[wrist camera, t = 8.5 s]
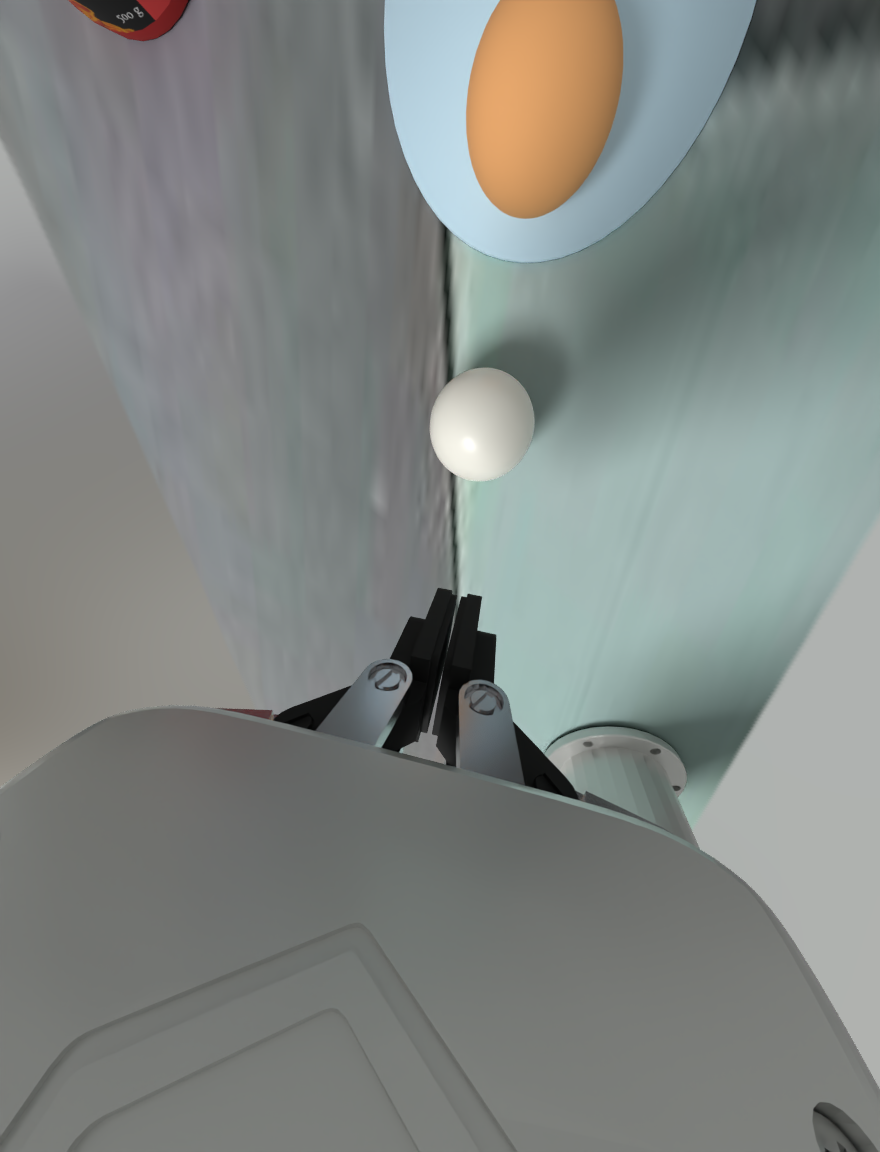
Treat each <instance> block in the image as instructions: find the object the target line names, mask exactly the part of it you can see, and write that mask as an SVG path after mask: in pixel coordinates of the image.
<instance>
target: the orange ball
mask: <svg viewBox="0 0 880 1152" xmlns="http://www.w3.org/2000/svg"><path fill="white" fill-rule="evenodd" d="M622 75H623V36H622V27H621V22H620V17H619V13H618V9H617V5H616V2H615V0H500V1H499V3H498V4H497V6H496V7H495V9H494V11H493V12H492V14H491V16H490V18H489V20H488V22H487V24H486V26H485V29H484V32H483V34H482V37H481V40H480V42H479V45H478V48H477V50H476V54H475V58H474V62H473V66H472V70H471V74H470V80H469V86H468V94H467V105H466V134H467V142H468V149H469V155H470V159H471V163H472V167H473V170H474V173H475V176H476V179H477V181H478V183H479V185H480V187H481V188H482V190H483V192H484V194H485V195H486V197H487V198H488V199H489V200H490V201H491V203H492V204H493V205H495V206H496V207H497V208H498V209H499V210H500V211H502V212H503V213H505V214H507V215H509V216H512V217H516V218H522V219H530V218H536V217H540V216H543V215H545V214H547V213H549V212H552V211H553V210H555V209H557V208H558V207H560V206H561V205H562V204H564V203H565V202H566V201H567V200H568V199H569V198H570V197H571V196H572V195H573V194H574V193H575V192H576V191H577V190H578V189H579V188H580V186H581V185H582V184H583V183H584V181H585V180H586V179H587V177H588V176H589V174H590V173H591V171H592V169H593V168H594V166H595V164H596V162H597V160H598V158H599V157H600V155H601V153H602V151H603V148H604V146H605V143H606V141H607V139H608V136H609V133H610V131H611V128H612V125H613V121H614V118H615V114H616V111H617V107H618V102H619V97H620V91H621V84H622Z"/></svg>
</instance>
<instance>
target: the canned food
mask: <svg viewBox="0 0 880 1152" xmlns="http://www.w3.org/2000/svg"><path fill="white" fill-rule="evenodd" d="M68 1H70V2H71V3H72V4H73V5H74V6H75V7H76V8H77V9H78V10H80V11H81V12H82V13H83V14H85V15H86V16H87V17H88V18H90V19H91V20H92V21H94V22H95V23H97V24H99V25H101V26H103V27H105V28H107V29H109V30H111V31H113V32H115V33H117V34H119V35H121V36H123V37H125V38H127V39H132V40H139V41H146V40H150V39H155V38H158V37H159V36H161V35H162V34H164V33H165V32H167V31H169V30H170V29H171V27H172V26H173V25H174V24H175V23H176V21H177V20H178V19H179V18H180V16H181V14H182V12H183V10H184V8H185V6H186V4H187V2H188V0H68Z"/></svg>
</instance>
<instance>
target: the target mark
mask: <svg viewBox="0 0 880 1152" xmlns="http://www.w3.org/2000/svg"><path fill="white" fill-rule="evenodd" d="M499 1H500V0H385V18H384V38H385V64H386V72H387V81H388V89H389V97H390V102H391V107H392V112H393V117H394V122H395V127H396V130H397V133H398V137H399V140H400V143H401V147H402V150H403V153H404V156H405V158H406V161H407V163H408V166H409V168H410V170H411V173H412V175H413V178H414V180H415V182H416V184H417V186H418V187H419V189H420V191H421V193H422V195H423V196H424V198H425V200H426V202H427V203H428V205H429V206H430V207H431V209H432V210H433V211H434V213H435V214H436V216H437V217H438V218H439V220H440V221H441V222H442V223H443V224H444V225H445V226H446V227H447V228H448V229H449V230H450V231H451V232H452V233H453V234H454V235H455V236H456V237H458V238H459V239H460V240H462V241H463V242H464V243H466V244H467V245H468V246H470V247H472V248H473V249H475V250H477V251H479V252H481V253H483V254H485V255H487V256H490V257H494V258H497V259H500V260H503V261H510V262H517V263H537V262H545V261H550V260H555V259H560V258H562V257H565V256H568V255H571V254H573V253H576V252H579V251H581V250H583V249H585V248H587V247H589V246H591V245H592V244H594V243H596V242H598V241H600V240H602V239H603V238H604V237H606V236H607V235H609V234H610V233H612V232H613V231H614V230H616V229H617V228H619V227H620V226H621V225H623V224H624V223H625V222H626V221H627V220H628V219H629V218H631V217H632V216H633V215H634V214H635V213H636V212H637V211H639V210H640V209H641V208H642V207H643V206H644V205H645V204H646V202H647V201H648V200H649V199H650V198H651V197H652V196H653V195H654V194H655V193H656V192H657V191H658V190H659V189H660V188H661V186H662V185H663V184H664V183H665V181H666V180H667V179H668V177H669V176H670V175H671V174H672V172H673V171H674V170H675V168H676V167H677V166H678V165H679V163H680V162H681V161H682V159H683V158H684V156H685V155H686V153H687V152H688V150H689V149H690V147H691V146H692V144H693V143H694V141H695V140H696V138H697V136H698V135H699V133H700V132H701V130H702V129H703V127H704V125H705V123H706V121H707V119H708V118H709V116H710V114H711V112H712V110H713V108H714V107H715V105H716V103H717V101H718V99H719V97H720V95H721V93H722V91H723V89H724V87H725V84H726V82H727V80H728V78H729V75H730V73H731V71H732V69H733V66H734V64H735V62H736V60H737V57H738V54H739V51H740V49H741V46H742V43H743V40H744V37H745V35H746V32H747V29H748V26H749V23H750V21H751V18H752V14H753V11H754V7H755V3H756V0H615V2H616V5H617V9H618V13H619V17H620V22H621V27H622V36H623V75H622V84H621V91H620V97H619V102H618V107H617V111H616V114H615V118H614V121H613V125H612V128H611V131H610V133H609V136H608V139H607V141H606V143H605V146H604V148H603V151H602V153H601V155H600V157H599V158H598V160H597V162H596V164H595V166H594V168H593V169H592V171H591V173H590V174H589V176H588V177H587V179H586V180H585V181H584V183H583V184H582V185H581V186H580V188H579V189H578V190H577V191H576V192H575V193H574V194H573V195H572V196H571V197H570V198H569V199H568V200H567V201H566V202H565V203H564V204H562V205H561V206H560V207H558V208H557V209H555V210H553V211H552V212H549V213H547V214H545V215H543V216H540V217H536V218H530V219H522V218H516V217H512V216H509V215H507V214H505V213H503V212H502V211H500V210H499V209H498V208H497V207H496V206H495V205H493V204H492V203H491V201H490V200H489V199H488V198H487V197H486V195H485V194H484V192H483V190H482V188H481V187H480V185H479V183H478V181H477V179H476V176H475V173H474V170H473V167H472V163H471V159H470V155H469V149H468V142H467V134H466V105H467V94H468V86H469V80H470V74H471V70H472V66H473V62H474V58H475V54H476V50H477V48H478V45H479V42H480V40H481V37H482V34H483V32H484V29H485V26H486V24H487V22H488V20H489V18H490V16H491V14H492V12H493V11H494V9H495V7H496V6H497V4H498V3H499Z"/></svg>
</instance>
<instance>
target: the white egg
mask: <svg viewBox="0 0 880 1152" xmlns="http://www.w3.org/2000/svg"><path fill="white" fill-rule="evenodd" d="M534 425H535V419H534V411H533V406H532V403H531V400H530V397H529V395H528V393H527V391H526V390H525V389H524V387H523V386H522V385H521V384H520V382H519V381H518V380H516V379H515V378H514V377H513V376H511V375H510V374H508V373H506V372H504V371H501V370H499V369H494V368H486V367H484V368H475V369H471V370H468V371H465V372H463V373H461V374H459V375H458V376H456V377H455V378H454V379H452V380H451V381H450V382H449V383H448V384H447V385H446V386H445V387H444V388H443V390H442V391H441V392H440V394H439V396H438V397H437V399H436V401H435V404H434V406H433V409H432V413H431V419H430V436H431V441H432V445H433V448H434V450H435V453H436V455H437V456H438V458H439V460H440V461H441V462H442V464H443V465H444V466H445V467H446V468H447V469H448V470H449V471H451V472H452V473H454V474H455V475H457V476H459V477H461V478H463V479H466V480H470V481H489V480H493V479H496V478H499V477H501V476H503V475H505V474H506V473H508V472H509V471H511V470H512V469H513V468H514V467H515V466H517V465H518V463H519V462H520V461H521V460H522V459H523V457H524V456H525V454H526V452H527V450H528V448H529V446H530V444H531V441H532V437H533V433H534Z"/></svg>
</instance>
